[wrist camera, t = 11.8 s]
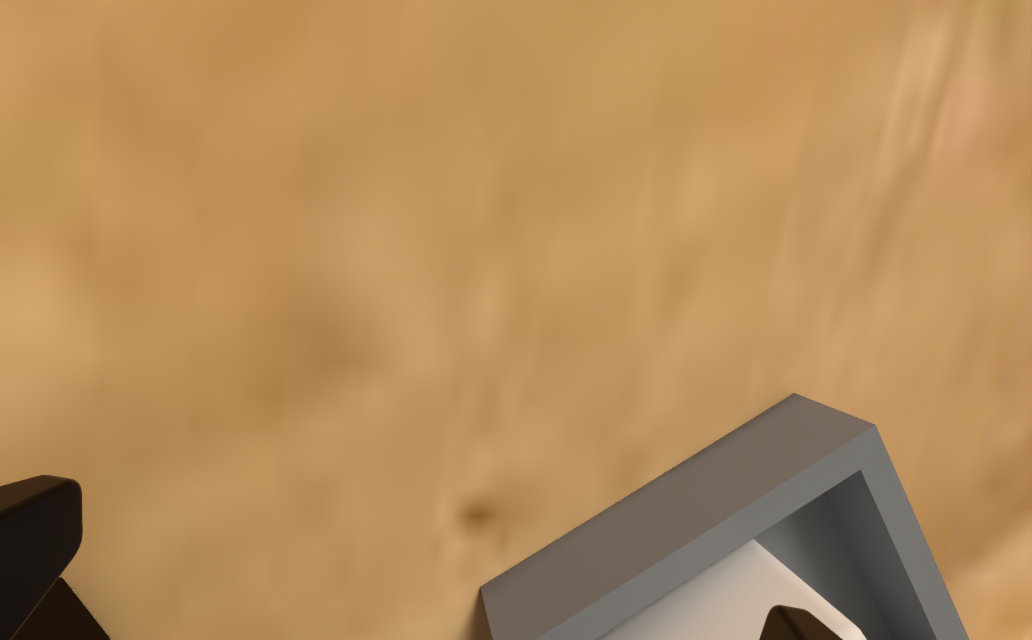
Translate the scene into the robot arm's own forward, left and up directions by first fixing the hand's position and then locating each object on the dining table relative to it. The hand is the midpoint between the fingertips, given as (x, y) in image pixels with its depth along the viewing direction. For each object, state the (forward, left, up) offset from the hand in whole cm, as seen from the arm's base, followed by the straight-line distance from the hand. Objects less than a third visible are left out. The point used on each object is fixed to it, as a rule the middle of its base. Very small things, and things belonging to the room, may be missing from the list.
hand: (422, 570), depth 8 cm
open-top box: (+5, -14, -12) cm, 19 cm away
